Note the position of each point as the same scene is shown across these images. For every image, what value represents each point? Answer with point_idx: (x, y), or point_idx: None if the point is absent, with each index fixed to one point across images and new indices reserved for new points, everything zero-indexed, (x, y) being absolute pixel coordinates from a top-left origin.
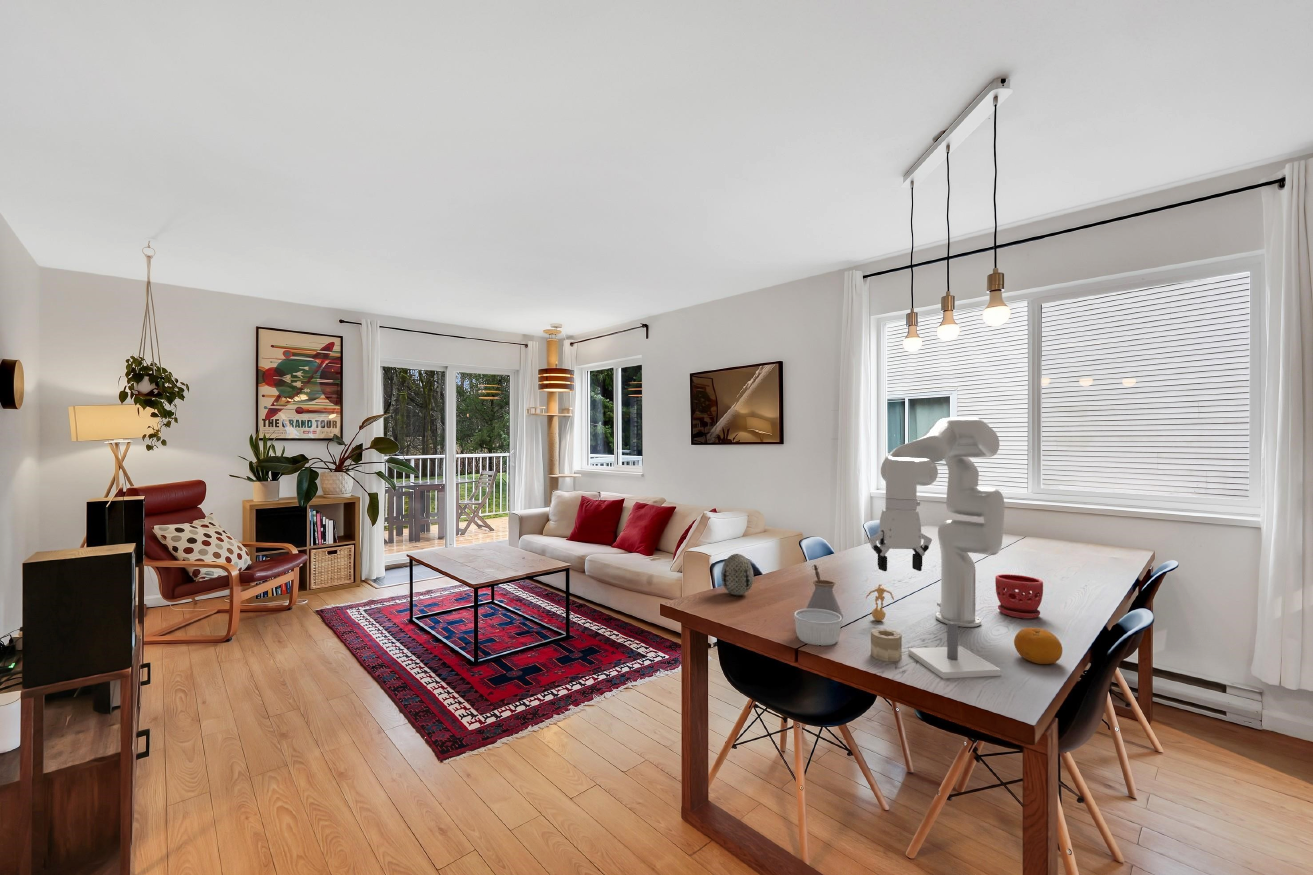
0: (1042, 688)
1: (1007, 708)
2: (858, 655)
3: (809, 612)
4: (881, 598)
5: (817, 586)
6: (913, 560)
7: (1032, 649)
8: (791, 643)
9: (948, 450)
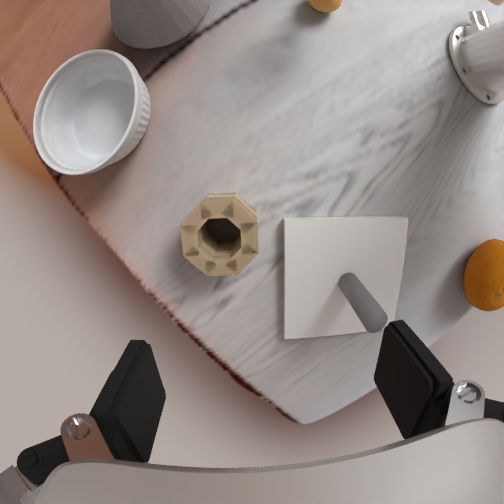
0: None
1: (309, 405)
2: (162, 218)
3: (86, 58)
4: None
5: None
6: (406, 368)
7: (471, 300)
8: None
9: None
